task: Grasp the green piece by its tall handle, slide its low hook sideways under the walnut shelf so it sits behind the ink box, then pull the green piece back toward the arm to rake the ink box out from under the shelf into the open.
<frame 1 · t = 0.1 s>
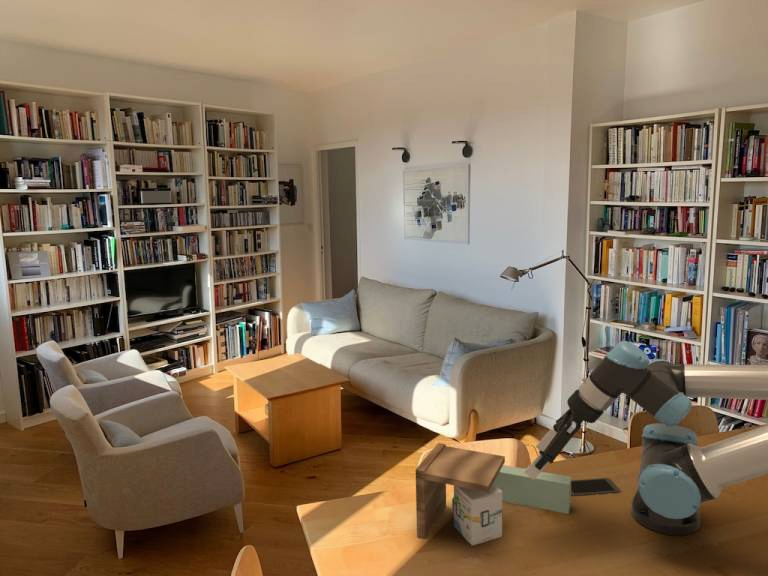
hand: (534, 462, 139), 15 cm above the table, tool tilted 35°, fingers open, 13 cm apart
green piece: (533, 503, 150), on the table
cell phone: (590, 489, 157), on the table
shelf: (461, 527, 140), on the table
ink box: (477, 532, 138), on the table
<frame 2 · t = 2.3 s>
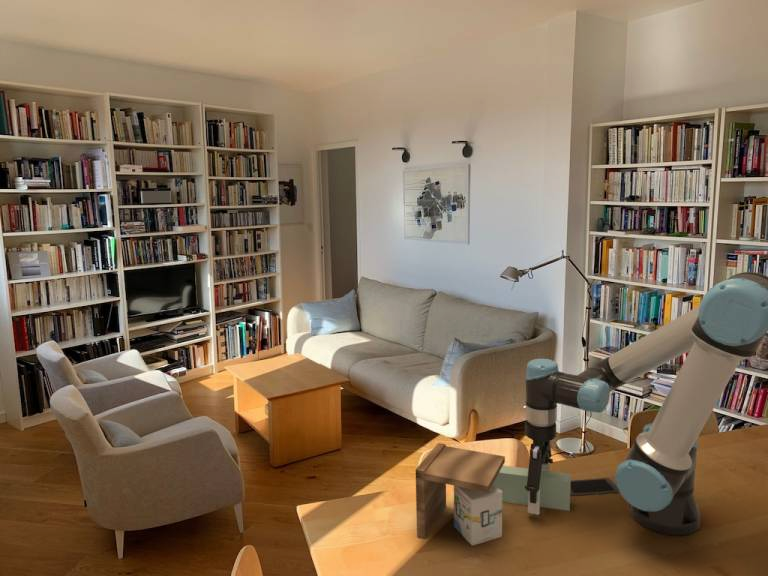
hand: (538, 499, 149), 1 cm above the table, tool pointing down, fingers open, 13 cm apart
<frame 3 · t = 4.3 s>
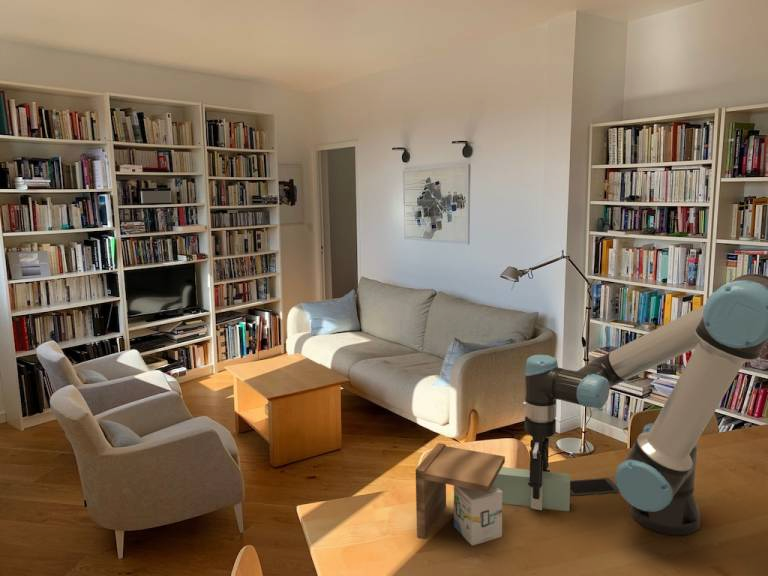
hand: (538, 502, 149), 0 cm above the table, tool pointing down, fingers open, 5 cm apart
green piece: (532, 502, 150), on the table, touching gripper
everything else where it was.
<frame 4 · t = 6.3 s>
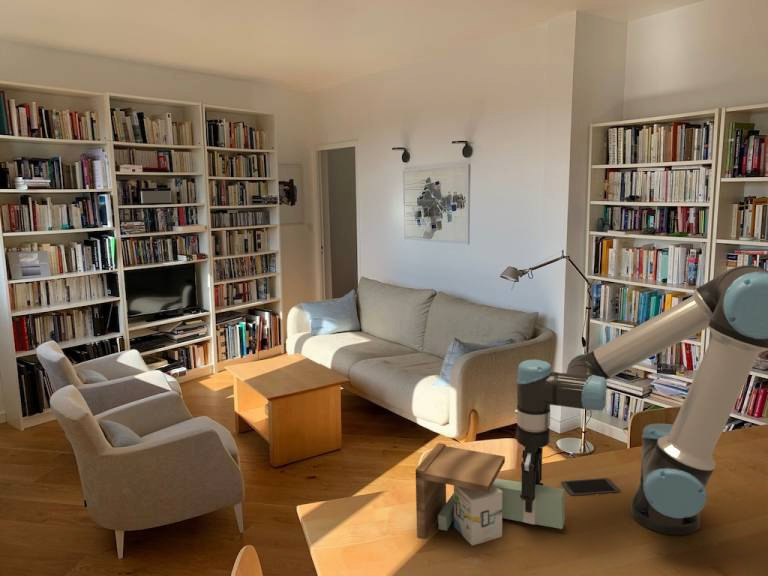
hand: (531, 517, 141), 2 cm above the table, tool pointing down, fingers closed on green piece, 4 cm apart
green piece: (525, 517, 141), point 1 cm above the table, touching gripper
everything else where it was.
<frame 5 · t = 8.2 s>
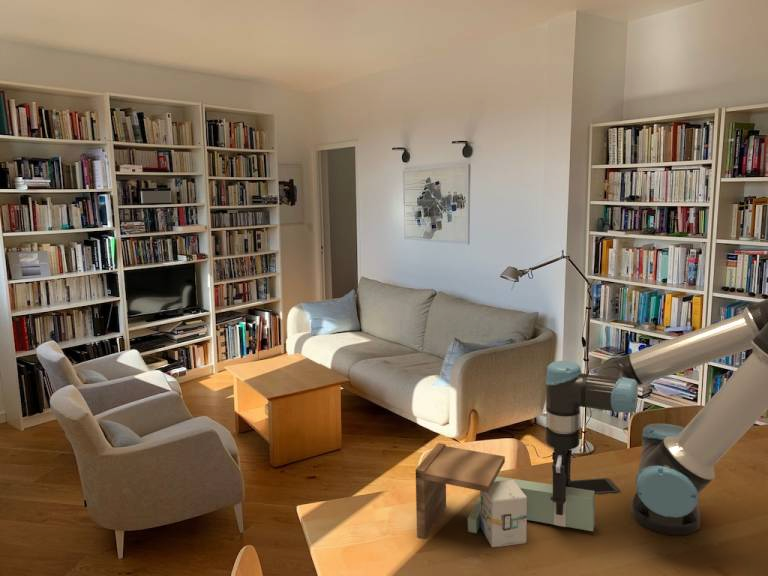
hand: (561, 519, 140), 1 cm above the table, tool pointing down, fingers closed on green piece, 4 cm apart
green piece: (554, 519, 140), point 1 cm above the table, touching gripper, ink box
ink box: (502, 535, 137), on the table, touching green piece
everything else where it was.
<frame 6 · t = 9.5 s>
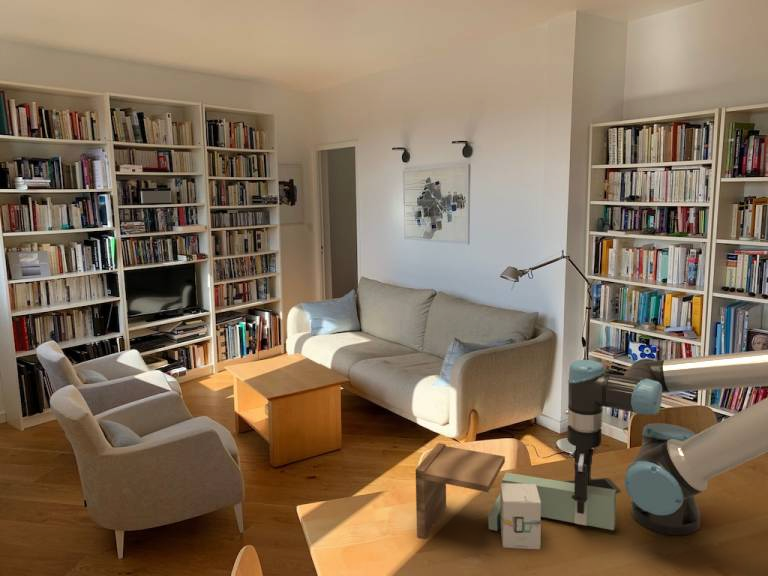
hand: (581, 518, 140), 2 cm above the table, tool pointing down, fingers closed on green piece, 4 cm apart
green piece: (574, 518, 141), point 1 cm above the table, touching gripper
ink box: (519, 538, 136), on the table
everything else where it was.
when the fingers open (2 cm above the table, at t = 10.5 s): green piece drops 1 cm, on the table.
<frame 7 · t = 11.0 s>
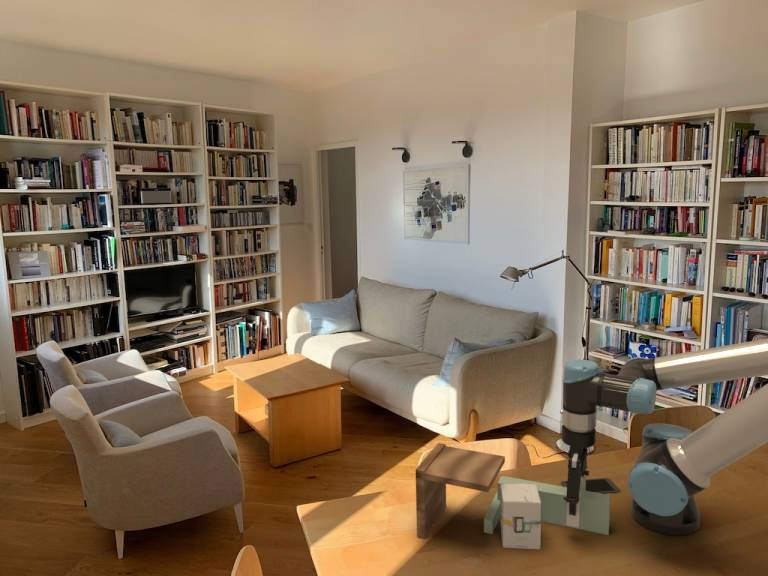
hand: (576, 512, 140), 3 cm above the table, tool pointing down, fingers open, 11 cm apart
green piece: (569, 522, 141), on the table
everything else where it was.
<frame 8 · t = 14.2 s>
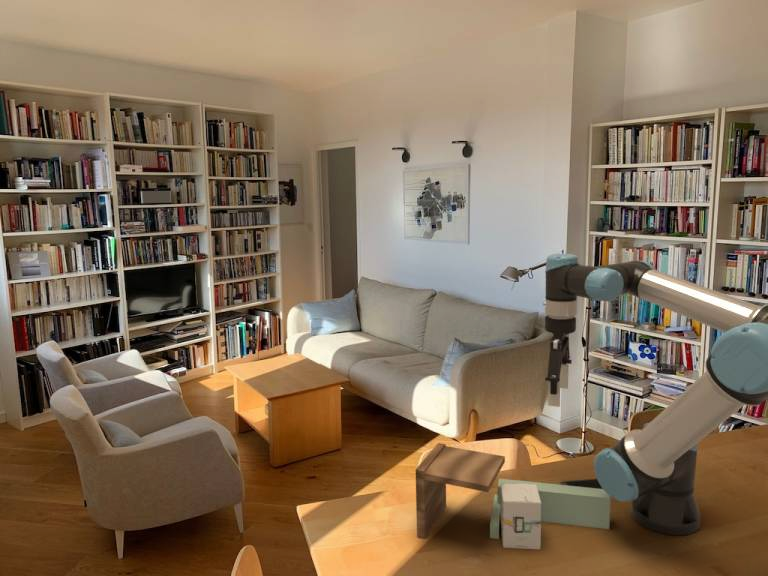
hand: (558, 396, 150), 27 cm above the table, tool pointing down, fingers open, 13 cm apart
green piece: (568, 520, 142), on the table
everything else where it was.
at the end: ink box inside the target area (5.6 cm from its centre), on the table; ink box tilted 0°; ink box moved 9.7 cm from its start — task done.
